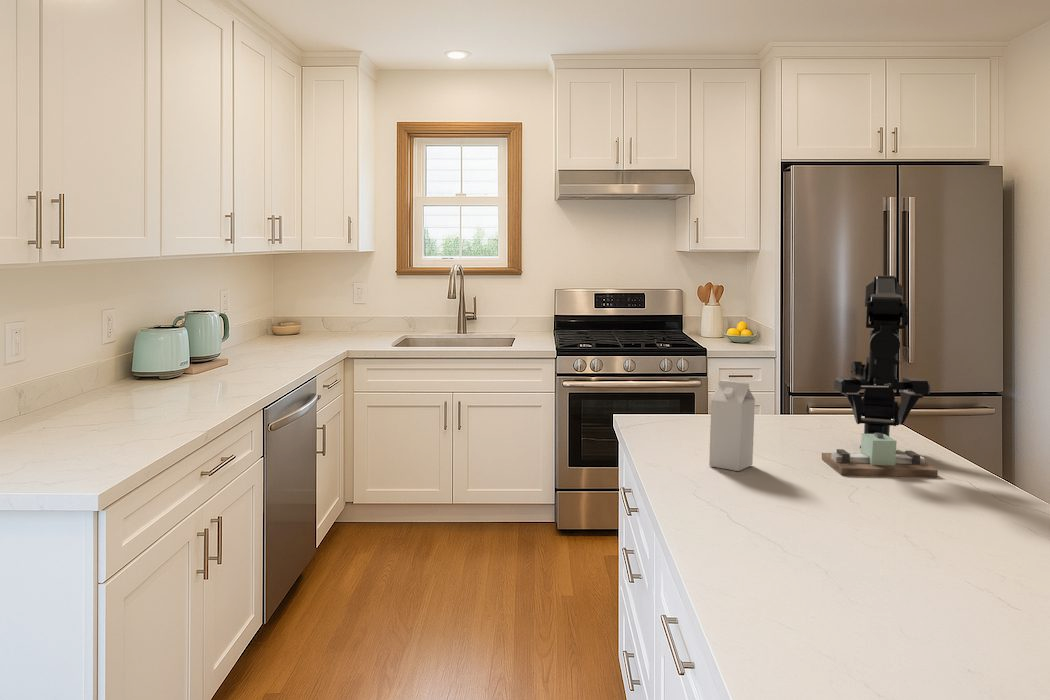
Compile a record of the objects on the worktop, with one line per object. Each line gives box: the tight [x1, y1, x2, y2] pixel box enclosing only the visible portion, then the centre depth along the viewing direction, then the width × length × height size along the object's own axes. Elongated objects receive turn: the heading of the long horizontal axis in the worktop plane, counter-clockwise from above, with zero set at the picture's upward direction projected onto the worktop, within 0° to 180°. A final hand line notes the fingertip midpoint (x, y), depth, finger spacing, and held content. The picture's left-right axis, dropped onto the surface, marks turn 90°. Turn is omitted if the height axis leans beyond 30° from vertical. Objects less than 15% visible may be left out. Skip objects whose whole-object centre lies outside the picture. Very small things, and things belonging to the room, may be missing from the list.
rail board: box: [821, 448, 939, 478], centre depth 179 cm, size 20×14×4 cm
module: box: [860, 433, 897, 465], centre depth 178 cm, size 5×7×6 cm
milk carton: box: [709, 380, 756, 472], centre depth 179 cm, size 7×7×19 cm
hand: (879, 424), depth 178 cm, fingers open, 9 cm apart
